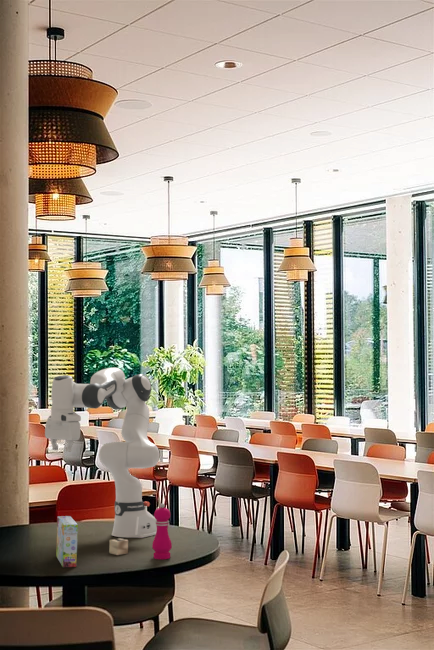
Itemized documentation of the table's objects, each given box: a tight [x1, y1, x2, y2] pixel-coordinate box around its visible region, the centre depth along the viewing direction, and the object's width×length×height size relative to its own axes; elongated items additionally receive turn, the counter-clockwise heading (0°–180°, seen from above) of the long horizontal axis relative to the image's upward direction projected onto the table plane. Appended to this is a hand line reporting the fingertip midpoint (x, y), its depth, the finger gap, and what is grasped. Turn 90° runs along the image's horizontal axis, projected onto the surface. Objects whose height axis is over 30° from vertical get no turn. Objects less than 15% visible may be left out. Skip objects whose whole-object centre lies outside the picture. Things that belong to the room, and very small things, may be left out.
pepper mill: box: [151, 503, 173, 560], centre depth 338 cm, size 7×7×20 cm
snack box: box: [55, 515, 79, 568], centre depth 331 cm, size 21×6×15 cm, turn 17°
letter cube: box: [108, 537, 129, 556], centre depth 347 cm, size 5×5×5 cm
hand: (61, 451), depth 364 cm, fingers open, 8 cm apart
